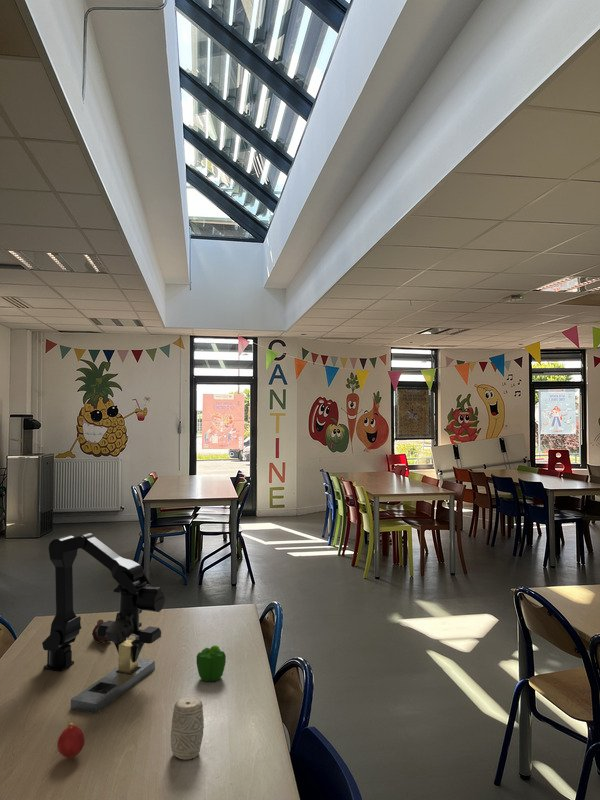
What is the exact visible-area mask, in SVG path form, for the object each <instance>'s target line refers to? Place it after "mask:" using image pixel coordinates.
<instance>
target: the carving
mask: <svg viewBox="0 0 600 800" xmlns="http://www.w3.org/2000/svg"><path fill="white" fill-rule="evenodd" d="M171 717H172V718H171V729H170V748H171V752H172V754H173V755H174V757H176V758H178V759H180V760H185V761H186V760H193V759H195V758H197V757H198V756H199V754H200V752H201V745H202V742H203V736H204V729H205V725H204V724H205V720H204V719H205V718H204V704H203V702H202V700H201V699H200V698H198V697H196V696H183V697H180V698H179V699H177V701H175V704H174V706H173V713H172V716H171ZM196 756H197V757H196ZM192 758H193V759H192Z"/></svg>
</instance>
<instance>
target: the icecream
mask: <svg viewBox="0 0 600 800" xmlns="http://www.w3.org/2000/svg"><path fill="white" fill-rule="evenodd" d="M105 622H106V621H104V620H103V619H98V620H97V621H96V625H94V628H93V630H92V633H91V634H92V638H93V641H94V642H96V643H98V644H104V643H103V642H105V643H108V642H109V641H108V639H107V635H106V636H105V637H103V636H97V629H98V627H99V625H101V624H103V623H105ZM107 641H108V642H107Z"/></svg>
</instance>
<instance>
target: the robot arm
mask: <svg viewBox="0 0 600 800" xmlns="http://www.w3.org/2000/svg"><path fill="white" fill-rule="evenodd" d="M47 549H48V554H49V560H50V562H51V563H52V564H53V566H54V568H55V569H54V578H55V616H54V617H53V619H52V622H51V624H50V630H49V631H50V632H49V635H48V636H47V637H46V638H45V639H44V640H43V641H42V642H41V643H42V649H43V650H44V651H47V653H46V655H47V657H46V658H47V659H46V664H45V665H43V667H42V669H45V670H52V671H56V672H61V671H63V670H65V669H66V668H68V667H69V666H71V665H73V664H74V663H75V661H74V660H73V659H72V657H73V654H72V653H73V650H72V643H74V642H76V638H77V636H79V634H80V630H81V629H82V625H81V624H82V623H81V620H82V618H81V615H77V614H76V613H75V612H74V589H73V587H74V586H73V583H74V582H73V575H74V574H73V565H74V562H75V559H76V557H77V555H78V549H81V550H83V551H85V553H87V554H88V555H89V556H91V557H92V558H93V559H95V560H96V561H97V562H99V563H100V564H101V565H102V566H104V567H105V568H106V569H107V570H109V572H110V574H111V576H112V579H114V581H115V582H116V583H118V585H117V586H116V587H115V588H114V589H113V593H119V611H118V612H117V613H116V616H115V620H107V621H104V622H105V623H103V624H101V625H99V627H98V629H97V636H103V637H105V636H106V635H107V639H108V642H112V643H113V644H114V646H115V648H116V652H117V653H118V654H117V655H119V644H121V643H123V642H124V641H126V640H127V639H128V638H130V636H134V637H135V638H134V639H133V640H131V641H132V642H131V643H132V645H133V662H136V660H137V658H139V656H140V654H141V651H142V649H143V647H144V645H145V644H147V645H149V644H152V643H154V642H156V641H157V640H159V639H160V638H162V629H161V628H160V627H158V626H147V627H146V628H144V629H140V628H141V627H143V626H142V622H140V614H142V613H143V611H147V612H153V613H160V612H161V611H162V610H163V608H164V605H165V600H166V597H165V595H164V594H165V593H163V592H162V587H160V586H155V587H153V586H151V585H152V584H151V582H150V581H149V579H148V577H147V575H146V574H145V571H144V567H143V565H141V564H139V563H138V562H136V561H134V560H132V559H129V558H124V557H122V556H120V555H119V554H118V553H116V552H115V551H114V550H112V549H111V548H110V547H108V546H107V545H106V544H104V543H103V542H102V541H101V540H99V539H98V538H97V537H96V536H95V535H94V534H93V533H91V532H87V533H84V534H80V535H78V536H73V535H70V534H69V535H65V536H61V537H57V538H54V539H52V540H51V541H50V542H49V543H48V547H47Z"/></svg>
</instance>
